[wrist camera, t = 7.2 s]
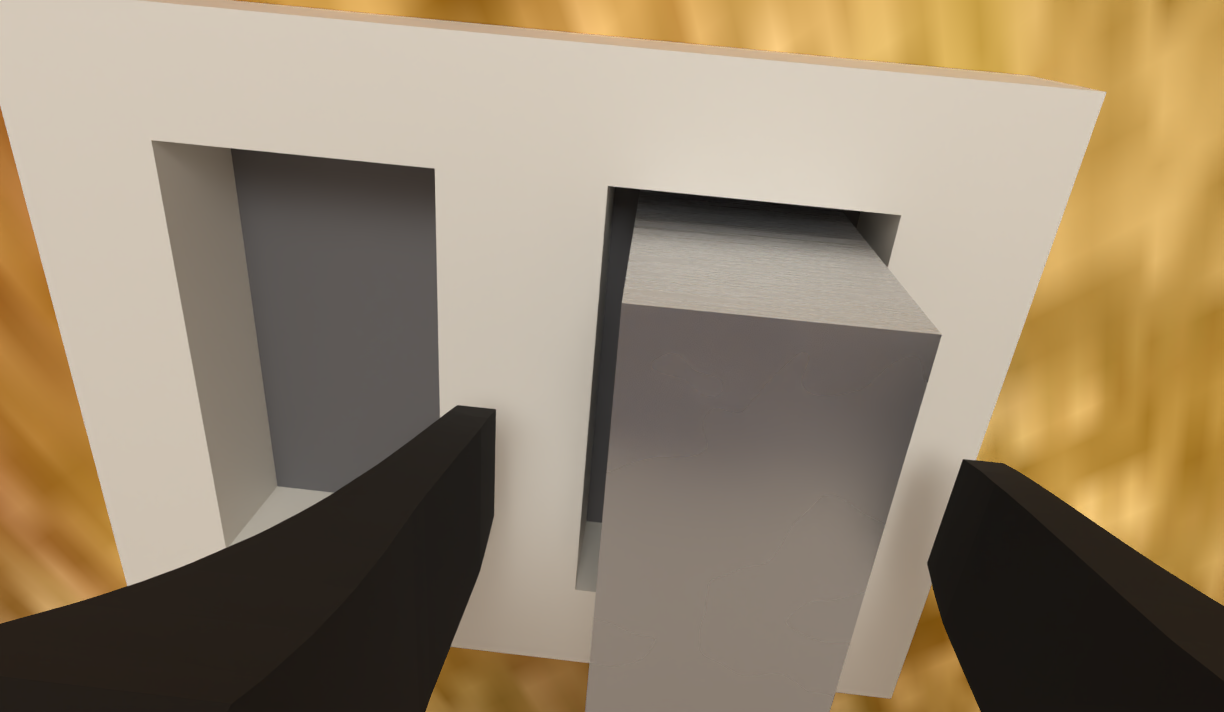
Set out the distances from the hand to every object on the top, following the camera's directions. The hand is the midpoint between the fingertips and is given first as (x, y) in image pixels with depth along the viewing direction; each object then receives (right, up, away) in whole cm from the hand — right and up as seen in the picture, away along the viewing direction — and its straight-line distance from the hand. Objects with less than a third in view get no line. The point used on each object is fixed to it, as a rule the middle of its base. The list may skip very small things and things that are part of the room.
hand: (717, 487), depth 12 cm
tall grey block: (0, +2, +3) cm, 4 cm away
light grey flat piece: (-3, +2, +4) cm, 6 cm away
